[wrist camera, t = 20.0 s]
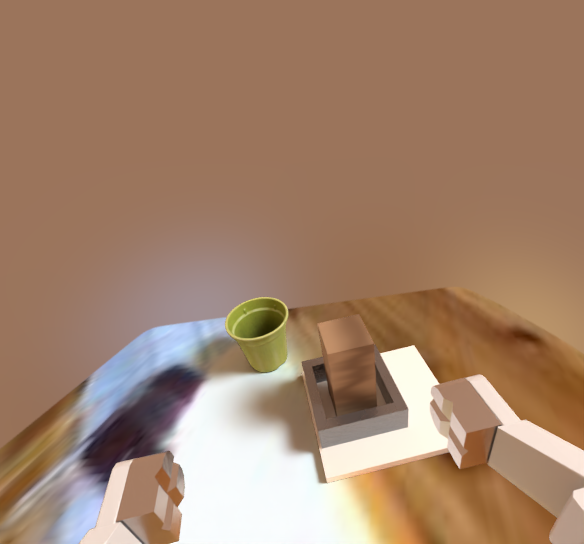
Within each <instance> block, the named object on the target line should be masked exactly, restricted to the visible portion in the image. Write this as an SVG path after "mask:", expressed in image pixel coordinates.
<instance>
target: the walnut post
mask: <svg viewBox="0 0 584 544" xmlns="http://www.w3.org/2000/svg"><path fill="white" fill-rule="evenodd" d="M318 330H319V336H320V342H321V348H322V354H323V360H324V366H325V373H326V379H327V385H328V390H329V394H330V397H331V400H332V404H333V407H334V410H335V414H336V417H337V416H341V415H345V414H349V413H353V412H357V411H361V410H365V409H369V408H373V407H377V394H376V373H375V352H374V342H373V340H372V339H371V337H370V335H369V333H368V331H367V329H366V327H365V325H364V323H363V321H362V319H361V317H360V315H359V314H357V315H352V316H348V317H344V318H340V319H335V320H331V321H327V322H322V323H318Z"/></svg>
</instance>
